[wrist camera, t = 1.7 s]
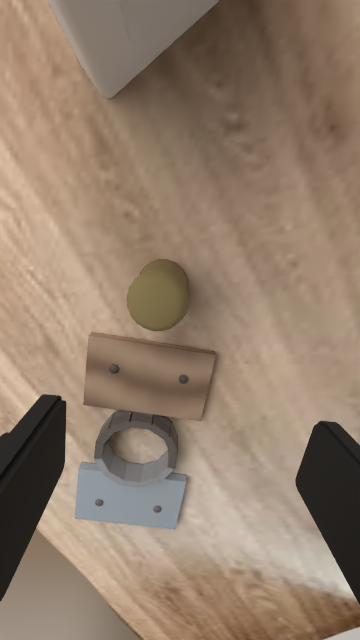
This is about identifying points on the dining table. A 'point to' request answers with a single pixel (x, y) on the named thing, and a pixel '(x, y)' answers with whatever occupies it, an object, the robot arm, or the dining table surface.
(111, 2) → the white triangular canister
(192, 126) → the dining table surface
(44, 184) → the dining table surface
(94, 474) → the leaf
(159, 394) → the leaf
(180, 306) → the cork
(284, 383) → the dining table surface
